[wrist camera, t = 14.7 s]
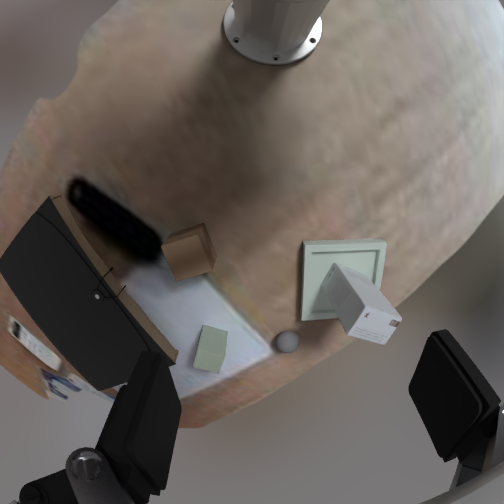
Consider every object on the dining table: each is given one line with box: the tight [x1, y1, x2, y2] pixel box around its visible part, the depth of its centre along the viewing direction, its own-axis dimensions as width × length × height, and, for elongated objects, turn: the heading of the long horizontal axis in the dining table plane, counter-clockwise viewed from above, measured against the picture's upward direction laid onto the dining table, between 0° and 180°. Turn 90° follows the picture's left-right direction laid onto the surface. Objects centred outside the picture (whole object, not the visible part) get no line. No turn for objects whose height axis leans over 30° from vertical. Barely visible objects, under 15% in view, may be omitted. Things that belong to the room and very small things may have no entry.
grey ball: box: [276, 331, 299, 353], centre depth 44 cm, size 4×4×4 cm
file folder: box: [0, 193, 178, 391], centre depth 42 cm, size 33×4×24 cm
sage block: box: [193, 325, 228, 374], centre depth 43 cm, size 4×4×6 cm
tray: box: [300, 238, 387, 321], centre depth 41 cm, size 12×12×2 cm
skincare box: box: [322, 262, 402, 345], centre depth 35 cm, size 6×4×12 cm
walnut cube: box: [161, 223, 216, 281], centre depth 37 cm, size 5×5×5 cm
